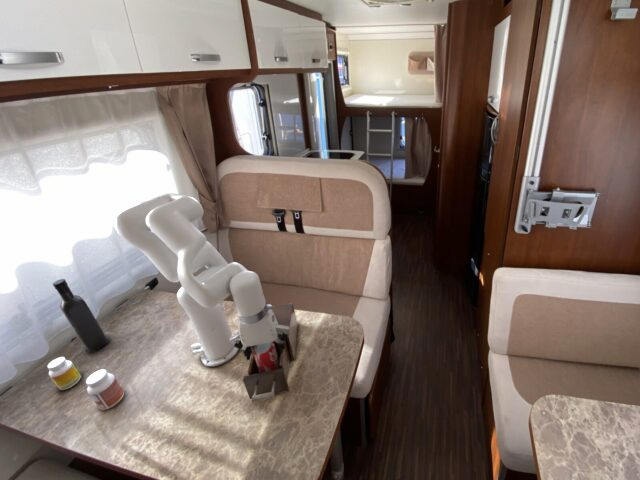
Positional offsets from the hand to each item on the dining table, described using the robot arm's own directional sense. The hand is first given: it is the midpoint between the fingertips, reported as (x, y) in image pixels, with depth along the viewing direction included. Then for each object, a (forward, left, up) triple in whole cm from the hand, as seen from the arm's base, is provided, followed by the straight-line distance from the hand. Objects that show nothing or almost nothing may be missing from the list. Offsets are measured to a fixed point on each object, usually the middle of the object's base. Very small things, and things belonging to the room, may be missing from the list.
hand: (265, 353), depth 93 cm
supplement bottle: (-67, +14, -11) cm, 69 cm away
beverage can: (0, 0, -9) cm, 9 cm away
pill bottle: (-49, +4, -11) cm, 50 cm away
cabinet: (0, +13, -11) cm, 17 cm away
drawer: (0, -2, -10) cm, 10 cm away
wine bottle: (-68, +29, -11) cm, 75 cm away
